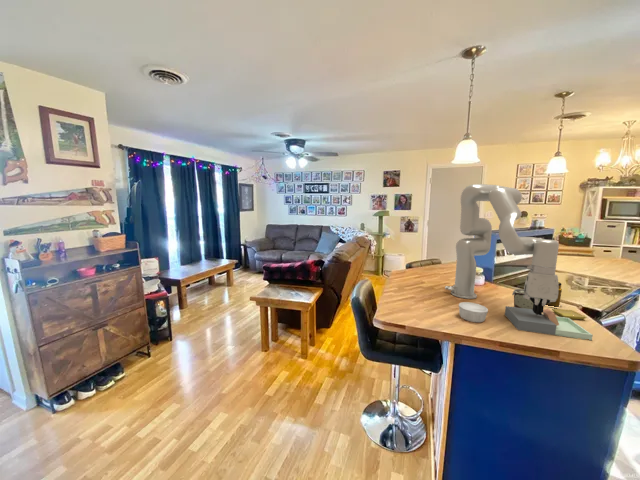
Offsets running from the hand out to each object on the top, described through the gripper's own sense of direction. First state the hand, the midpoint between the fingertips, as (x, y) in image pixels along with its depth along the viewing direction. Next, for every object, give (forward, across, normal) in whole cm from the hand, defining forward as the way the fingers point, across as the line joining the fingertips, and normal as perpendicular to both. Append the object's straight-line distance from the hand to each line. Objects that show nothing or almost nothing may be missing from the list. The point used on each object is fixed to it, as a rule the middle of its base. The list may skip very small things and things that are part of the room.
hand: (537, 313), depth 109 cm
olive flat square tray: (+6, +18, +17) cm, 26 cm away
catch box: (+5, +9, 0) cm, 10 cm away
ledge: (+5, -3, 0) cm, 6 cm away
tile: (+2, +4, 0) cm, 4 cm away
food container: (+5, +1, +16) cm, 17 cm away
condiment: (+5, +17, +31) cm, 36 cm away
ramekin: (+5, -24, -2) cm, 24 cm away
